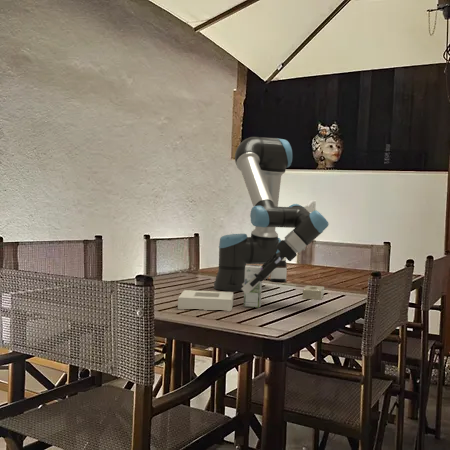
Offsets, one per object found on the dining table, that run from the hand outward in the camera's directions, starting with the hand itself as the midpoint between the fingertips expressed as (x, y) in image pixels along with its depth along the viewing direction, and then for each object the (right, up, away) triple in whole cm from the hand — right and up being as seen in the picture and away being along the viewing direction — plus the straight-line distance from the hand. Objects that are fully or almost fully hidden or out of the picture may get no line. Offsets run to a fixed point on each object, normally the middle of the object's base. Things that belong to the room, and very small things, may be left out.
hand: (244, 289), depth 193 cm
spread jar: (+17, -4, +69) cm, 71 cm away
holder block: (-13, -5, -3) cm, 15 cm away
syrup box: (+3, -6, 0) cm, 7 cm away
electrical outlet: (+29, -6, +28) cm, 41 cm away
